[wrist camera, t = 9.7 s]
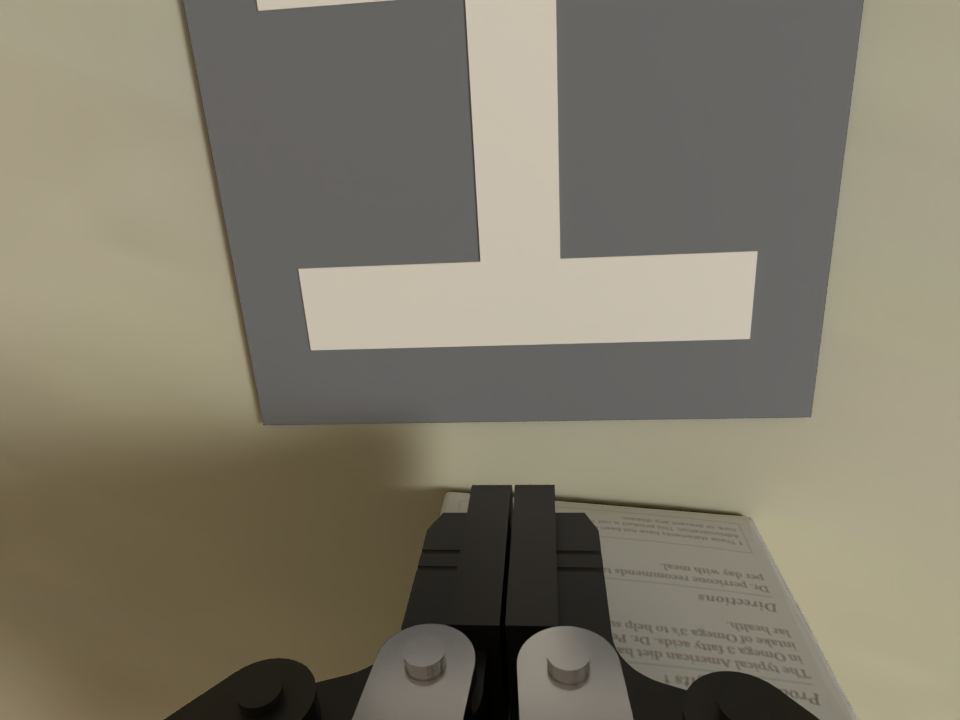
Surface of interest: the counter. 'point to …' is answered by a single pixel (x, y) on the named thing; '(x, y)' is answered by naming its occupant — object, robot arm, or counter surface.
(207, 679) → the counter surface
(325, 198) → the letter mat
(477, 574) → the robot arm
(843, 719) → the supplement box
